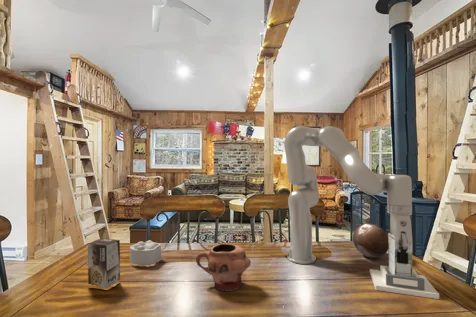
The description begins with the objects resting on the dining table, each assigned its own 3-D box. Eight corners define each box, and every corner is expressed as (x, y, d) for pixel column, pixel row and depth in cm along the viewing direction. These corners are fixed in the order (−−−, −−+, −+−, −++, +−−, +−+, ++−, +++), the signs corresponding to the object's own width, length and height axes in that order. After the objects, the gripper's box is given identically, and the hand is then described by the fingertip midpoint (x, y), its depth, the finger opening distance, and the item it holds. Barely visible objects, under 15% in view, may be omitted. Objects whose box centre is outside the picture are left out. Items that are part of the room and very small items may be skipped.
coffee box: (121, 283, 94) (120, 239, 94) (106, 292, 88) (106, 245, 88) (102, 279, 97) (101, 237, 97) (87, 288, 91) (86, 242, 91)
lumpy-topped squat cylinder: (152, 268, 107) (152, 247, 107) (124, 266, 109) (124, 246, 109) (163, 258, 117) (163, 239, 117) (137, 257, 120) (137, 238, 120)
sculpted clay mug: (191, 294, 86) (191, 252, 86) (198, 277, 98) (198, 241, 98) (251, 294, 85) (250, 253, 85) (250, 277, 97) (250, 241, 97)
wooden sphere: (347, 256, 117) (347, 223, 117) (361, 248, 127) (360, 218, 128) (383, 266, 106) (382, 230, 106) (394, 256, 116) (394, 223, 116)
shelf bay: (375, 289, 87) (375, 275, 87) (369, 272, 100) (369, 260, 100) (439, 299, 81) (439, 283, 81) (424, 279, 94) (423, 266, 94)
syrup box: (405, 272, 93) (404, 232, 93) (413, 279, 87) (412, 237, 87) (388, 270, 94) (387, 231, 94) (394, 278, 88) (394, 236, 88)
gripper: (419, 215, 81) (420, 271, 81) (404, 205, 97) (405, 252, 97) (392, 213, 84) (393, 267, 84) (382, 204, 100) (383, 250, 100)
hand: (399, 259), depth 91 cm, fingers closed on syrup box, 6 cm apart
